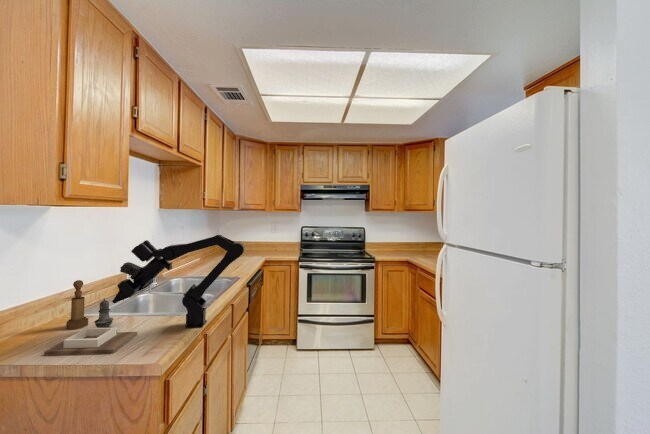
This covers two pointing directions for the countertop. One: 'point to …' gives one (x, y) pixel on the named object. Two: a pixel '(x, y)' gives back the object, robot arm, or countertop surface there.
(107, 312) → the salt shaker
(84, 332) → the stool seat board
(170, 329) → the countertop surface
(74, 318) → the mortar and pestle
